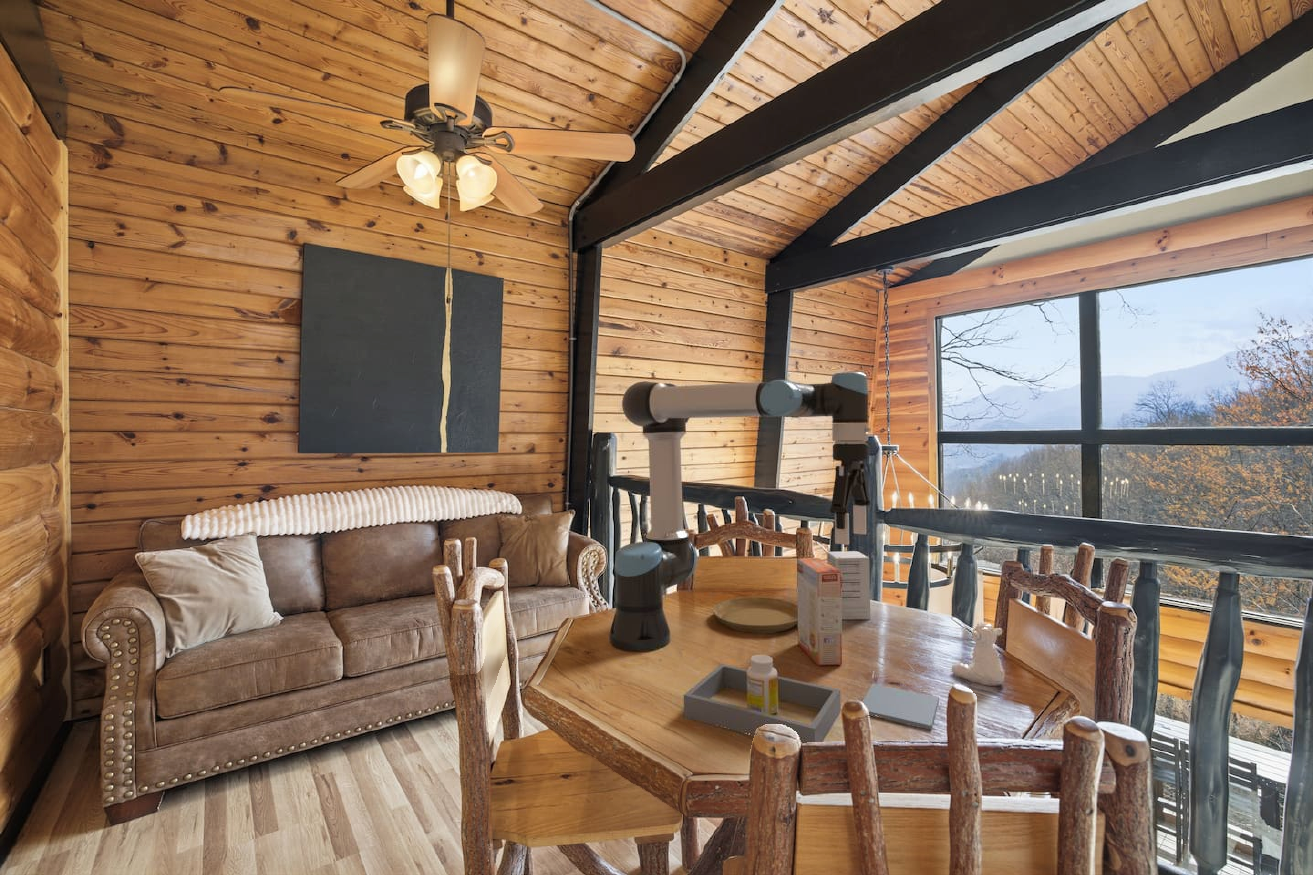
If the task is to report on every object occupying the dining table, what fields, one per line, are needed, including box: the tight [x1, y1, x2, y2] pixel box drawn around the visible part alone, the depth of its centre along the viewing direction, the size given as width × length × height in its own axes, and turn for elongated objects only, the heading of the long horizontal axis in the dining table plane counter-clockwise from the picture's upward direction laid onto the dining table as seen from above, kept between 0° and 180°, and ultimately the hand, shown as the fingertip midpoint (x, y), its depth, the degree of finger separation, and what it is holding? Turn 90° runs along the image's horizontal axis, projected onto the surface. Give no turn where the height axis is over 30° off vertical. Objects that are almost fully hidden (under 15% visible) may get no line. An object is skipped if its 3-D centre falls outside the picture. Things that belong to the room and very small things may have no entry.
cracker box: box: [796, 557, 843, 667], centre depth 132 cm, size 14×6×21 cm, turn 4°
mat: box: [862, 683, 940, 731], centre depth 107 cm, size 12×12×1 cm
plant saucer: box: [712, 596, 798, 634], centre depth 156 cm, size 24×24×3 cm
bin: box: [683, 663, 842, 743], centre depth 105 cm, size 24×16×4 cm, turn 58°
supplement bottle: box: [746, 654, 779, 716], centre depth 105 cm, size 6×6×10 cm
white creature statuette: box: [951, 622, 1006, 687], centre depth 118 cm, size 10×9×12 cm
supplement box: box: [826, 550, 871, 620], centre depth 160 cm, size 10×9×17 cm
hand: (851, 538), depth 127 cm, fingers open, 13 cm apart
